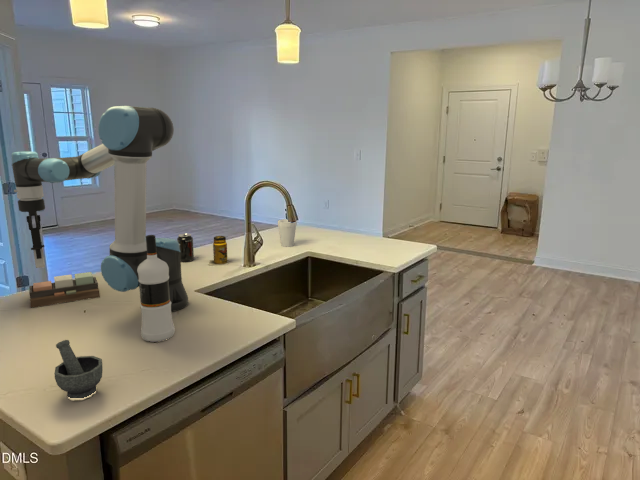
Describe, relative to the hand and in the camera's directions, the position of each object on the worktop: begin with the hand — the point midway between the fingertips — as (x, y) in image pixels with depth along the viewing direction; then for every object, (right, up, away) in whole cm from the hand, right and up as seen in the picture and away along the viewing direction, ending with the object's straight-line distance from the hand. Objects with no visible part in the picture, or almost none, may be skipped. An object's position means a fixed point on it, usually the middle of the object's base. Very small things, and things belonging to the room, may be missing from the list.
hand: (40, 267), depth 161 cm
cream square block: (+5, -7, +5) cm, 10 cm away
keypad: (+5, -11, +6) cm, 14 cm away
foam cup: (+79, +6, +81) cm, 113 cm away
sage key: (+11, -6, +8) cm, 15 cm away
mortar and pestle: (+42, -26, -55) cm, 73 cm away
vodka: (+49, -19, -25) cm, 58 cm away
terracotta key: (0, -9, +2) cm, 9 cm away
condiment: (+51, -1, +49) cm, 71 cm away
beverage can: (+35, 0, +52) cm, 63 cm away
